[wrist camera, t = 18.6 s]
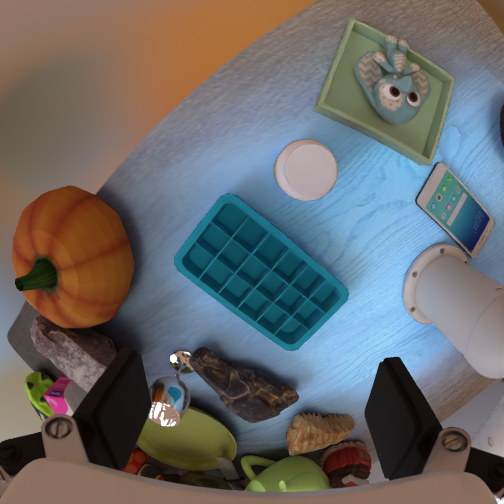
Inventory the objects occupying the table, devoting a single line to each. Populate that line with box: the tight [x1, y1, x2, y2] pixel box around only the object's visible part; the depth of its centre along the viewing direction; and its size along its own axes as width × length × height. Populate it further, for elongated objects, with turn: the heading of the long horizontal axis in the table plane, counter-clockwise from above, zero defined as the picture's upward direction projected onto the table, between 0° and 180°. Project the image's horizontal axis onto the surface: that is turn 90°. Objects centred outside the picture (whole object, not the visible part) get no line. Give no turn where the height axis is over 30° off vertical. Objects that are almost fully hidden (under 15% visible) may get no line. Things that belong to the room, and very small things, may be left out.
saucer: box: [136, 406, 237, 471], centre depth 46 cm, size 21×21×3 cm
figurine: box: [121, 447, 165, 481], centre depth 46 cm, size 10×10×15 cm
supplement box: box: [44, 373, 87, 416], centre depth 40 cm, size 6×6×12 cm
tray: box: [313, 18, 455, 166], centre depth 30 cm, size 16×14×3 cm
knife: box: [215, 457, 246, 491], centre depth 49 cm, size 22×1×5 cm
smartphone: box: [415, 162, 495, 258], centre depth 35 cm, size 8×1×15 cm
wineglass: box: [148, 351, 195, 426], centre depth 38 cm, size 6×6×12 cm
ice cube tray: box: [174, 193, 349, 351], centre depth 38 cm, size 12×20×3 cm, turn 51°
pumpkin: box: [12, 186, 135, 328], centre depth 32 cm, size 19×19×15 cm
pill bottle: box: [274, 139, 338, 201], centre depth 30 cm, size 6×6×11 cm
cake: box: [321, 441, 371, 489], centre depth 40 cm, size 11×9×18 cm
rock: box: [30, 315, 118, 393], centre depth 37 cm, size 14×14×15 cm
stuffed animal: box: [354, 36, 431, 124], centre depth 27 cm, size 11×7×12 cm
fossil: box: [286, 412, 355, 456], centre depth 44 cm, size 12×6×9 cm
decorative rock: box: [180, 471, 233, 490], centre depth 44 cm, size 15×16×10 cm
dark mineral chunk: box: [189, 347, 299, 423], centre depth 41 cm, size 6×12×15 cm
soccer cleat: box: [25, 372, 55, 422], centre depth 43 cm, size 10×29×12 cm
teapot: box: [241, 455, 333, 492], centre depth 41 cm, size 19×20×14 cm
